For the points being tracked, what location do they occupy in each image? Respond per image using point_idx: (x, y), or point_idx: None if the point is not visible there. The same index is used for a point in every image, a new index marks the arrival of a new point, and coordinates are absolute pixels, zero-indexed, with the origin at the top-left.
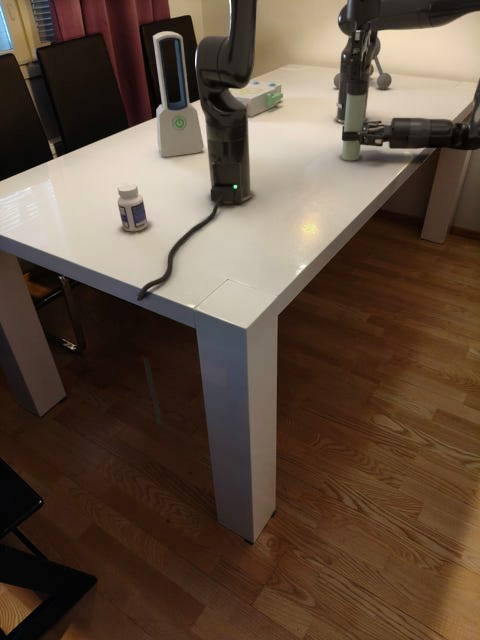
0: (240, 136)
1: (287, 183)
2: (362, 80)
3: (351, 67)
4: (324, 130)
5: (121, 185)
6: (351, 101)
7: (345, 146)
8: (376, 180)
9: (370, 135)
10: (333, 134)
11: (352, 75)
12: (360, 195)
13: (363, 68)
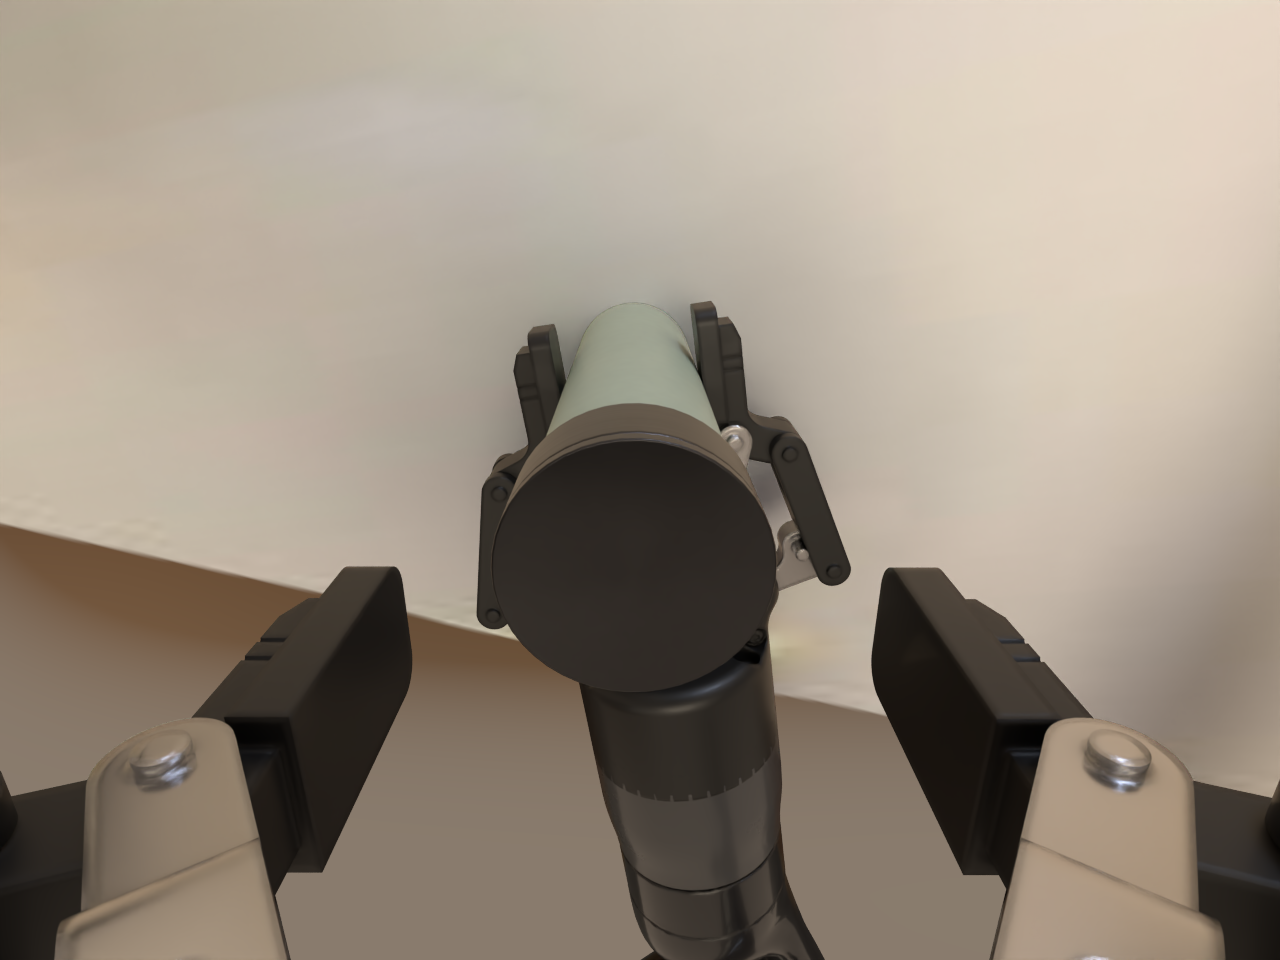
0: None
1: (57, 16)
2: (729, 622)
3: (282, 649)
4: (1239, 51)
5: None
6: None
7: (583, 341)
8: (323, 539)
9: (489, 547)
10: (1124, 152)
11: (295, 612)
12: (99, 488)
13: (884, 688)
